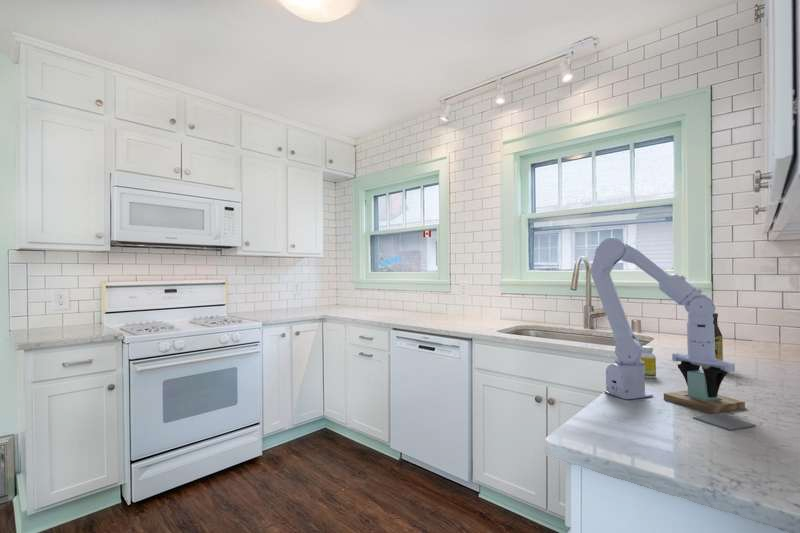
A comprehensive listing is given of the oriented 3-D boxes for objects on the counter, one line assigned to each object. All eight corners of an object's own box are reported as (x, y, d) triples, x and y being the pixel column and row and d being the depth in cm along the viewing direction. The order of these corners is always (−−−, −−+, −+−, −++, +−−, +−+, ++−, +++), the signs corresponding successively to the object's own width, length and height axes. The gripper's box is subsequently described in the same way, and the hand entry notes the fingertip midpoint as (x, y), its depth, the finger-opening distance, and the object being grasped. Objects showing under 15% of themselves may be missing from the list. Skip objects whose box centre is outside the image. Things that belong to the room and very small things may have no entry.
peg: (705, 407, 101) (704, 375, 101) (688, 402, 105) (687, 371, 105) (718, 405, 102) (716, 373, 102) (700, 400, 106) (699, 370, 107)
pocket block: (710, 413, 96) (709, 406, 96) (663, 399, 108) (663, 393, 108) (745, 408, 100) (744, 401, 100) (696, 394, 111) (696, 389, 111)
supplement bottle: (659, 378, 129) (658, 348, 129) (640, 378, 130) (639, 347, 130) (652, 374, 134) (651, 345, 135) (634, 374, 136) (633, 345, 136)
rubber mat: (730, 430, 85) (730, 429, 85) (692, 418, 93) (692, 416, 93) (756, 426, 88) (756, 424, 88) (717, 414, 95) (717, 413, 95)
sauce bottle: (718, 372, 137) (716, 313, 138) (697, 368, 142) (695, 312, 143) (727, 369, 140) (725, 312, 141) (706, 366, 146) (704, 311, 146)
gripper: (742, 344, 98) (744, 400, 98) (684, 336, 112) (686, 385, 112) (722, 346, 96) (724, 403, 96) (665, 338, 110) (667, 388, 110)
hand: (702, 394), depth 104 cm, fingers closed on peg, 4 cm apart
